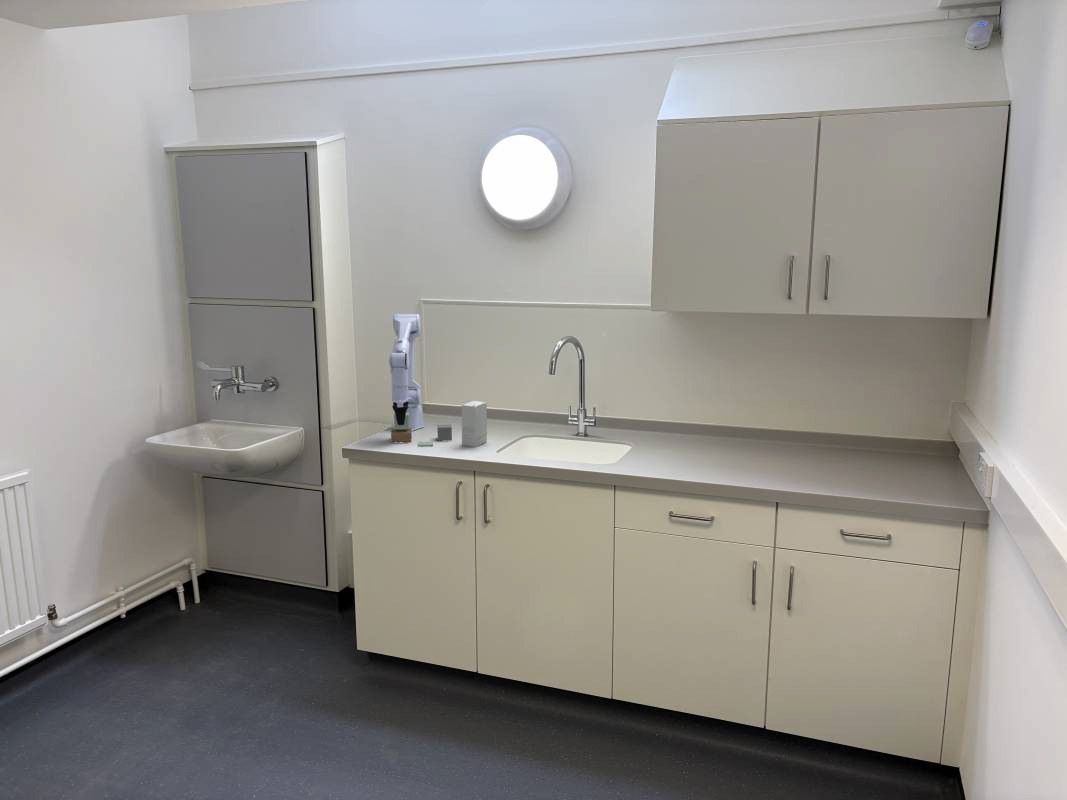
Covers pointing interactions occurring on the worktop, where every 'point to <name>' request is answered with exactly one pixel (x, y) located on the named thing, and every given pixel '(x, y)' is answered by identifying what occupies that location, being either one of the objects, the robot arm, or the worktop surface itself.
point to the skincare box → (474, 423)
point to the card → (426, 443)
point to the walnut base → (401, 435)
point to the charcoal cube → (444, 432)
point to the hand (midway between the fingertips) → (401, 423)
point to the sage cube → (406, 423)
